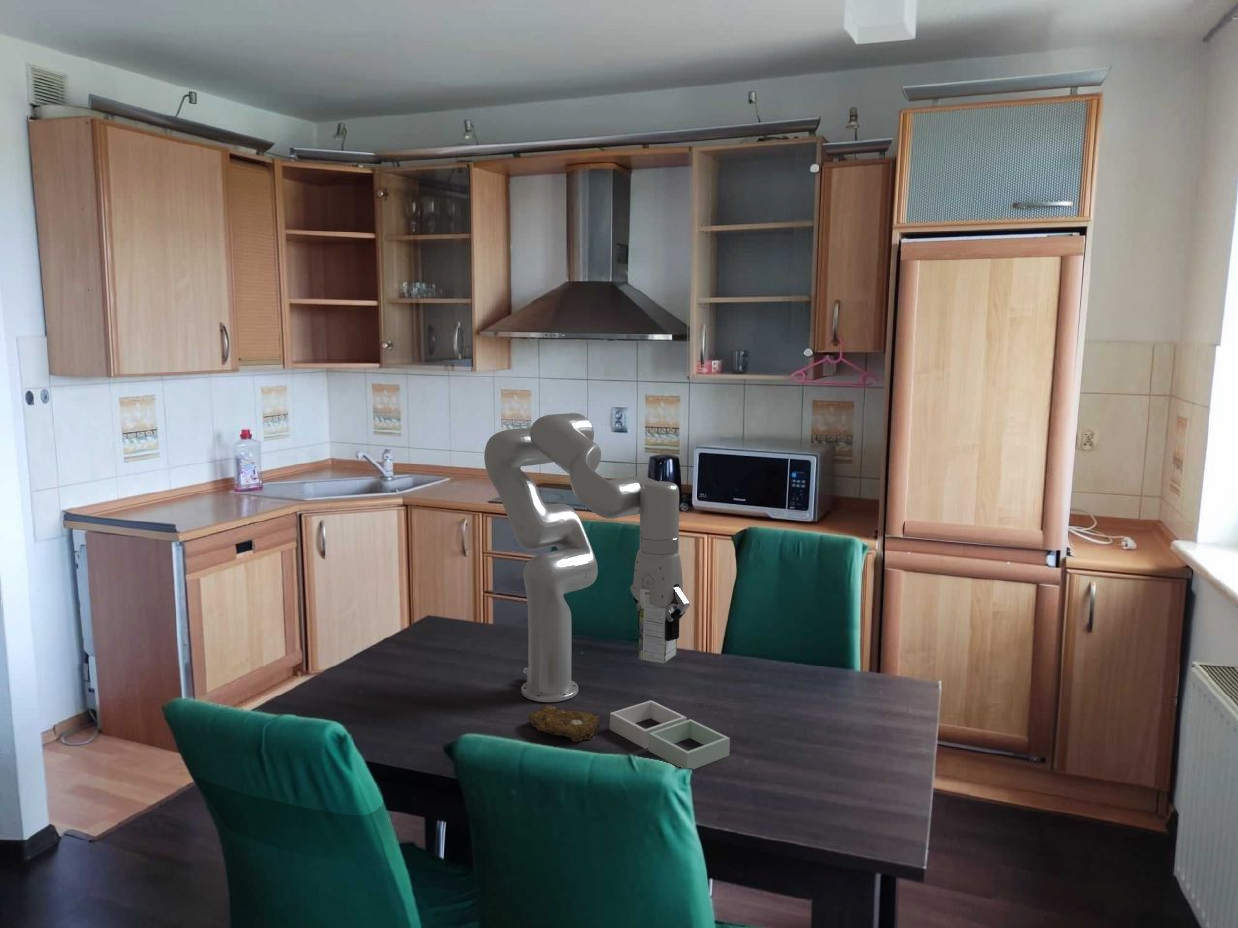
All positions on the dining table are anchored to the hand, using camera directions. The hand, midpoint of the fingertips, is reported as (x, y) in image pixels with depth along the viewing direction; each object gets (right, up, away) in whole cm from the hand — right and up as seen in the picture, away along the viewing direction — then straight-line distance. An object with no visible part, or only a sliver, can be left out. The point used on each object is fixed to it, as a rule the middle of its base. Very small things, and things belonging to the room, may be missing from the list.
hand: (658, 633), depth 180 cm
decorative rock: (-19, -21, +5) cm, 29 cm away
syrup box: (0, -5, +1) cm, 5 cm away
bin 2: (+6, -22, -4) cm, 23 cm away
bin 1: (-2, -21, +5) cm, 21 cm away
